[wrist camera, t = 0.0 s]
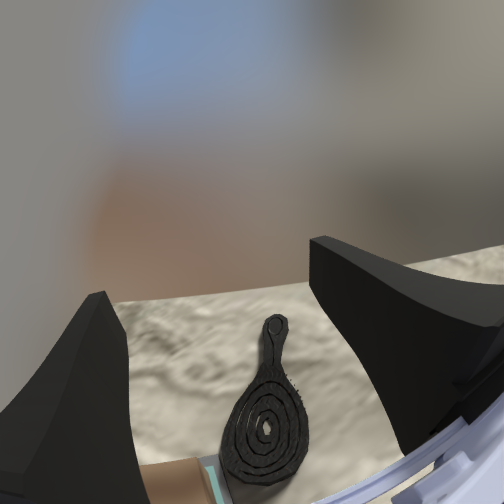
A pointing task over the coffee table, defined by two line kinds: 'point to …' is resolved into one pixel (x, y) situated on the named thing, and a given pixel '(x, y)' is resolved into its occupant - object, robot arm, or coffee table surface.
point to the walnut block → (178, 482)
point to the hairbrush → (265, 390)
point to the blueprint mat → (217, 478)
